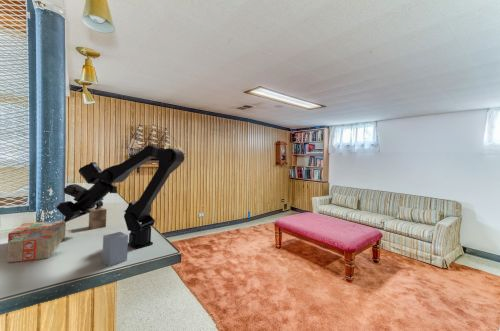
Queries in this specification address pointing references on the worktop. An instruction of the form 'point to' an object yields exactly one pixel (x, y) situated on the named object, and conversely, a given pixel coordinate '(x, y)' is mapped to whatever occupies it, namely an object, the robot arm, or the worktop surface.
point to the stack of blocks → (35, 240)
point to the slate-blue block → (115, 248)
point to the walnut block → (97, 218)
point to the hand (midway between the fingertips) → (65, 220)
